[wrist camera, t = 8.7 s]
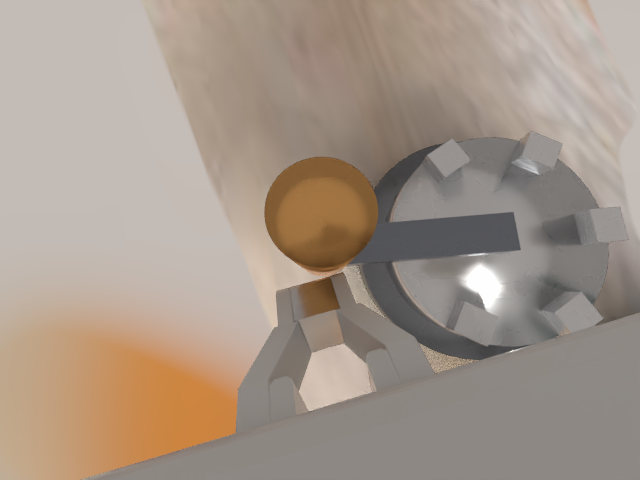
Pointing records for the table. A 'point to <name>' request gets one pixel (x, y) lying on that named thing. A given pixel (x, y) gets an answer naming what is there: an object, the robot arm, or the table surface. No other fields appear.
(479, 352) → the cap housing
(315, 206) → the lugged valve handwheel
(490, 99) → the table surface
